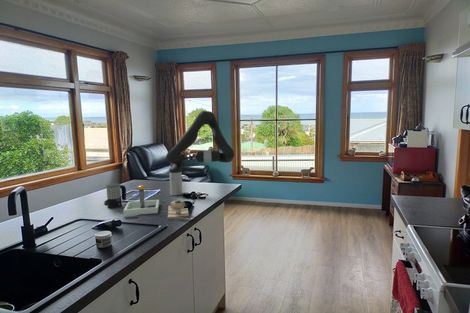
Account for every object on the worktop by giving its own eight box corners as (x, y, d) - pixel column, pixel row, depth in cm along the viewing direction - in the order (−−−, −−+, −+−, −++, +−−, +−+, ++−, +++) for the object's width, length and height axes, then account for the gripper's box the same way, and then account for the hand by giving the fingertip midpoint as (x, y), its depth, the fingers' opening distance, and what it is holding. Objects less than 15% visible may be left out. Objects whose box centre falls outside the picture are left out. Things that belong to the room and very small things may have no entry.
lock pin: (140, 209, 198) (138, 185, 196) (147, 209, 197) (146, 185, 195) (137, 211, 193) (135, 186, 191) (144, 211, 193) (143, 186, 191)
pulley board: (168, 207, 203) (167, 193, 202) (187, 206, 205) (186, 192, 204) (167, 219, 179) (167, 204, 178) (188, 217, 181) (188, 202, 180)
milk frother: (117, 209, 202) (115, 186, 201) (95, 208, 206) (93, 186, 204) (128, 203, 216) (127, 182, 214) (108, 202, 219) (106, 181, 218)
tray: (128, 208, 203) (128, 201, 202) (159, 206, 206) (158, 199, 206) (123, 217, 184) (123, 210, 183) (157, 214, 188) (157, 207, 187)
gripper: (202, 150, 211) (178, 150, 208) (204, 152, 197) (178, 153, 194) (203, 161, 212) (178, 162, 209) (205, 163, 198) (179, 165, 195)
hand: (178, 157), depth 202 cm, fingers open, 8 cm apart
